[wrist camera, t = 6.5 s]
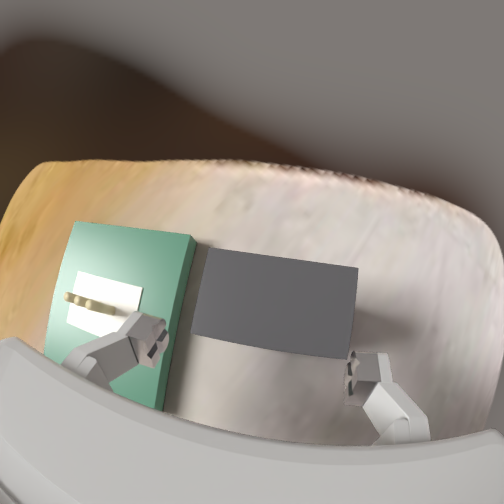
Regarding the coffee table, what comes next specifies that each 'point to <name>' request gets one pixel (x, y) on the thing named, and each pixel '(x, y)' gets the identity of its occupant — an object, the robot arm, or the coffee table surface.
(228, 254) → the block
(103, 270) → the board
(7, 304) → the coffee table surface
